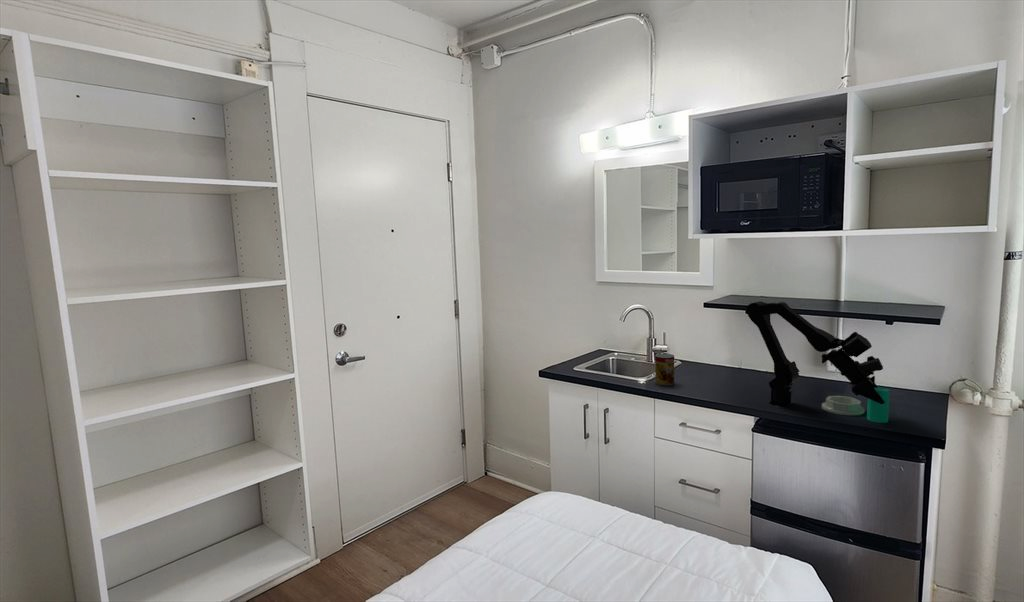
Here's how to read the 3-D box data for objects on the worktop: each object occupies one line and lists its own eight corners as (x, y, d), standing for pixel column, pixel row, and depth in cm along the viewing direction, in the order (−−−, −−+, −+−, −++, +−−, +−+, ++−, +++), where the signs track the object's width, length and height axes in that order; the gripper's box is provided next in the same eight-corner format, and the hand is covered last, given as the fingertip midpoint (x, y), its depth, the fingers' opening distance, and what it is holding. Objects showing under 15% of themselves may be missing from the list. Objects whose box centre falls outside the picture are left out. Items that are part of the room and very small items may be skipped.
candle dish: (817, 410, 190) (817, 401, 190) (826, 401, 200) (827, 392, 199) (860, 418, 181) (861, 408, 181) (868, 408, 191) (868, 398, 191)
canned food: (671, 386, 227) (671, 358, 225) (652, 383, 231) (652, 356, 229) (676, 381, 233) (676, 354, 232) (658, 379, 237) (658, 352, 236)
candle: (891, 423, 176) (893, 387, 174) (870, 422, 177) (872, 386, 176) (884, 417, 182) (886, 382, 180) (864, 416, 183) (865, 381, 182)
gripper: (865, 355, 171) (906, 393, 166) (867, 344, 187) (904, 379, 182) (836, 376, 177) (874, 414, 172) (839, 364, 192) (875, 399, 187)
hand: (883, 401), depth 178 cm, fingers closed on candle, 5 cm apart
